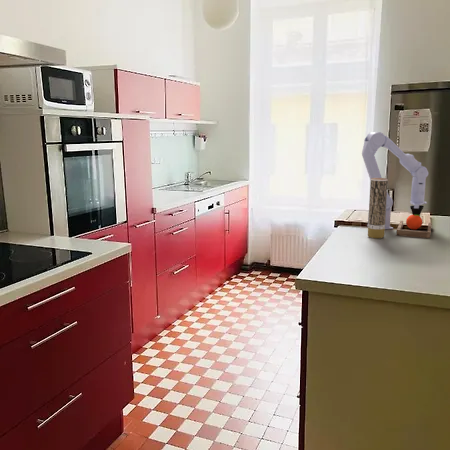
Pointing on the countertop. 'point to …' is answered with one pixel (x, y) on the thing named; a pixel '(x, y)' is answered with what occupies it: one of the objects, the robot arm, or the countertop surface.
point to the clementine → (414, 222)
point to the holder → (413, 232)
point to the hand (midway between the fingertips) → (415, 221)
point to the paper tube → (377, 207)
